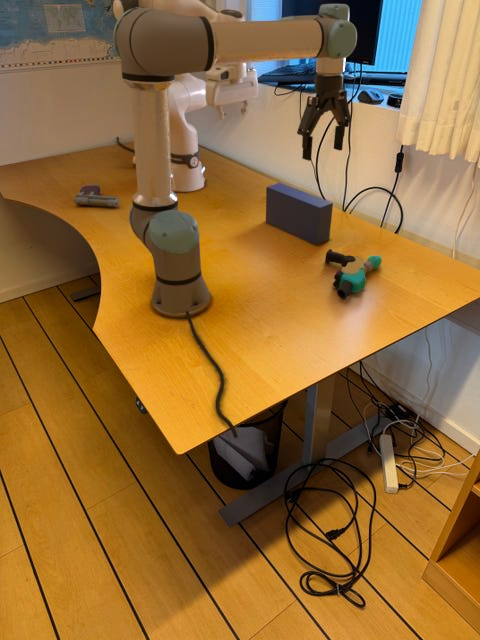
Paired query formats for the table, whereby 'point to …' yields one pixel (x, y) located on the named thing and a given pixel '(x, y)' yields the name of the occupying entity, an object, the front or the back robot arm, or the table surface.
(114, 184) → the table surface
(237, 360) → the table surface
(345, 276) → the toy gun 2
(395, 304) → the table surface
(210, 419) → the table surface
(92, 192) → the toy gun
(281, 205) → the box
